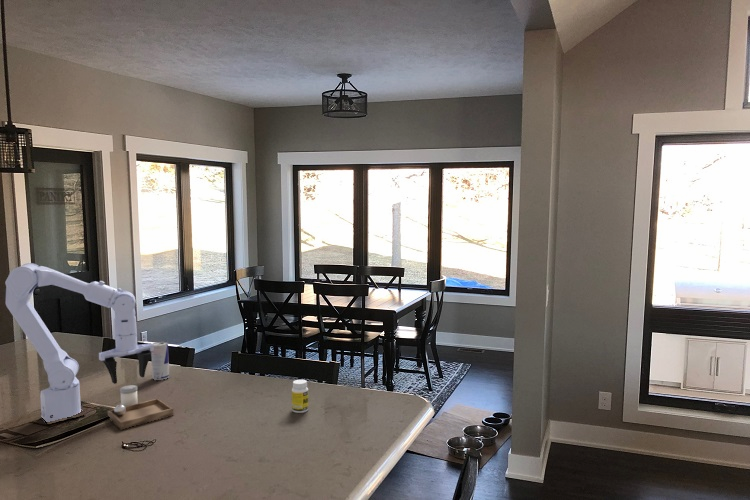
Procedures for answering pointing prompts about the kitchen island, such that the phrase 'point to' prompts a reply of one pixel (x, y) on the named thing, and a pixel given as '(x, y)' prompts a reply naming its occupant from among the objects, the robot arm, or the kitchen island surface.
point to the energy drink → (160, 361)
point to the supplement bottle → (300, 396)
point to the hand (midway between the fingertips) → (128, 379)
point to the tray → (141, 413)
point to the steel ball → (120, 410)
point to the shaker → (129, 395)
